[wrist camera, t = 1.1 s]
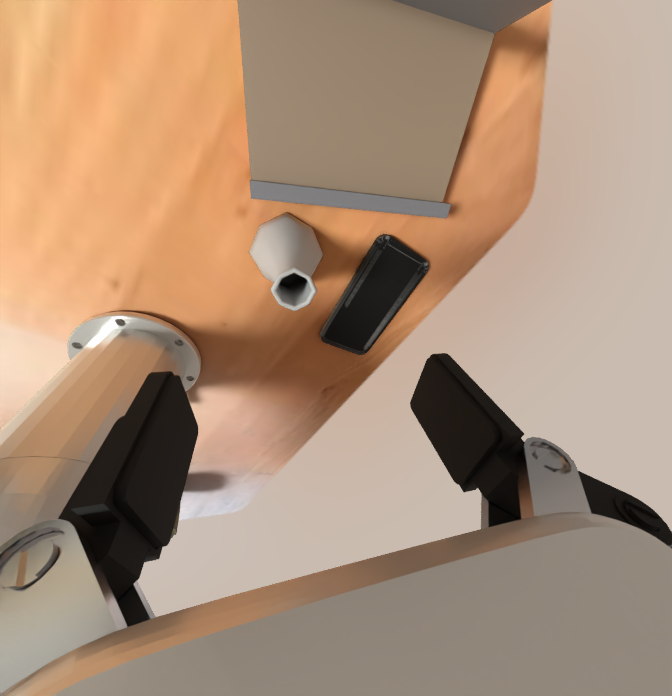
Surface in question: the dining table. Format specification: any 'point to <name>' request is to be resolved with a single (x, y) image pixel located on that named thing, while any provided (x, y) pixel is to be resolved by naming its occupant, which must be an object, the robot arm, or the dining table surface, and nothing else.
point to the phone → (374, 295)
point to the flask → (287, 259)
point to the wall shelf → (363, 96)
